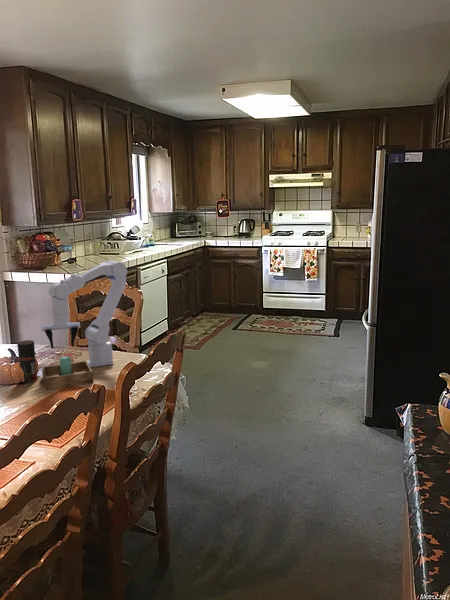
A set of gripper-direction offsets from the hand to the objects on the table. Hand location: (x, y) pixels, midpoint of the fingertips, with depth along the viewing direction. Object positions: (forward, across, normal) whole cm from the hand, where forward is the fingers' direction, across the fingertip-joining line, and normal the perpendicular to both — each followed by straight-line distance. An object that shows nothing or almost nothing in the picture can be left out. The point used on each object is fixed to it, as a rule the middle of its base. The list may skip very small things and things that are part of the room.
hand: (62, 346), depth 209 cm
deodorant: (+11, -14, -4) cm, 18 cm away
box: (+10, 0, -11) cm, 15 cm away
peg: (+10, 0, -8) cm, 13 cm away
